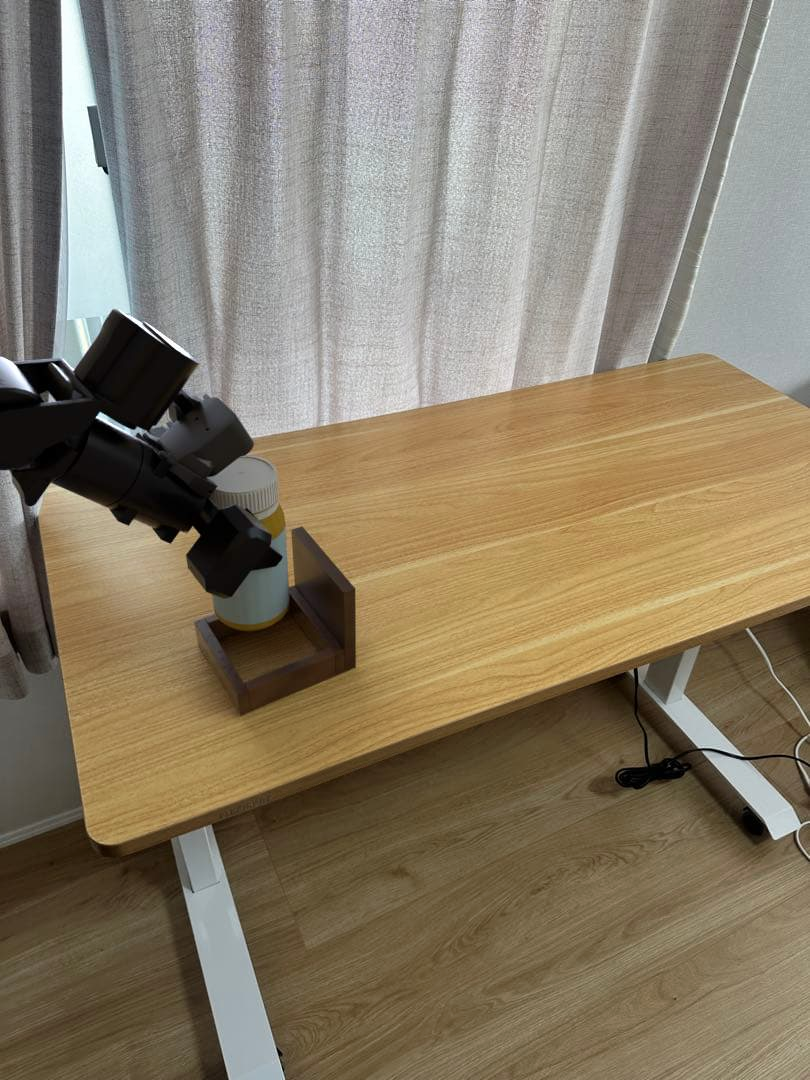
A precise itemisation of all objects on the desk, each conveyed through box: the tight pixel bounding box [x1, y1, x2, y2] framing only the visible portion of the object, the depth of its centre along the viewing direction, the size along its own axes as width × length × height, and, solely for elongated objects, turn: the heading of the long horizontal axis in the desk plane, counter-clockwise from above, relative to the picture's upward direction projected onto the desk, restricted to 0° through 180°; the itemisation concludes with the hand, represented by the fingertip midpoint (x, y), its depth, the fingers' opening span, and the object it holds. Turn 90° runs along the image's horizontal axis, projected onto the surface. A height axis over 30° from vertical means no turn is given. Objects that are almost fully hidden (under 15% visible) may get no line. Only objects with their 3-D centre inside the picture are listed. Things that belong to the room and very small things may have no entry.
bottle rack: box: [193, 525, 357, 717], centre depth 75 cm, size 12×11×10 cm
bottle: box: [206, 454, 290, 632], centre depth 71 cm, size 7×7×15 cm
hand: (260, 539), depth 72 cm, fingers closed on bottle, 7 cm apart
